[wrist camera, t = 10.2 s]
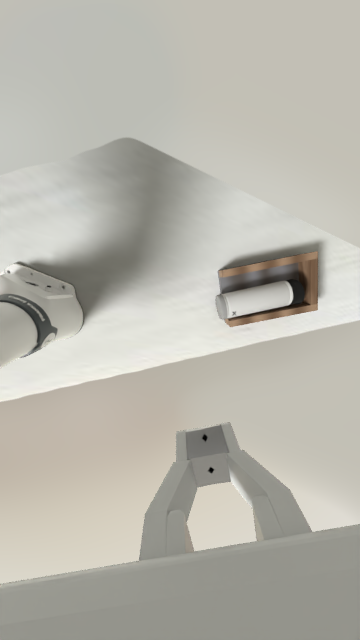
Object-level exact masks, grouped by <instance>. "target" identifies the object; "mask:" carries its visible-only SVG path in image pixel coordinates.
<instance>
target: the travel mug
mask: <svg viewBox="0 0 360 640" xmlns="http://www.w3.org/2000/svg"><path fill="white" fill-rule="evenodd" d="M304 297H305V291H304V288H303V286H302V284H301V283H300V282H299V281H298V280H296V279H289V280H285V281H279V282H275V283H270V284H266V285H261V286H257V287H252V288H248V289H243V290H239V291H234V292H230V293H225V294H221V295H217V296H216V307H217V312H218V315H219V317H220V318H221V319H222V320H223V319H227V318H232V317H237V316H241V315H246V314H251V313H255V312H260V311H264V310H269V309H274V308H278V307H283V306H287V305H290V304H297V305H298V304H301V303H302V301H303V300H304Z"/></svg>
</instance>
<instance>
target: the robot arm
mask: <svg viewBox="0 0 360 640" xmlns="http://www.w3.org/2000/svg"><path fill="white" fill-rule="evenodd" d="M9 271H10V273H9ZM63 286H65V289H64V287H63ZM82 324H83V312H82V308H81V306H80V304H79V302H78V301H77V299H76V294H75V289H74V287H73V285H71V284H69V283H66V282H64V281H61V280H59V279H56V278H53V277H51V276H48V275H46V274H43V273H41V272H38V271H36V270H33V269H31V268H28V267H26V266H23V265H20V264H11V265H9V266H8V267H7V268H5V269H4V270H3V272H2V273H1V274H0V368H2V367H4V366H6V365H7V364H9V363H11V362H13V361H14V360H16V359H18V358H22V357H26V356H28V355H30V354H32V353H34V352H36V351H38V350H40V349H42V348H43V347H45V346H47V345H48V344H50V343H51V342H54V341H58V340H64V339H68V338H71V337H73V336H74V335H76V334H77V333H78V332H79V330H80V329H81V327H82ZM224 482H231V483H232V484H233V485H234V487H235V488H236V489H237V490H238V492H239V493H240V494H241V495H242V496H243V498H244V499H245V500H246V502H247V503H248V504H249V505H250V507H251V508H252V509H253V515H254V523H255V531H256V539H257V541H256V542H250V543H243V544H237V545H231V546H225V547H219V548H214V549H207V550H201V551H195V552H194V548H193V545H192V541H191V537H190V534H189V530H188V527H187V523H186V522H187V519H188V516H189V513H190V510H191V507H192V504H193V501H194V497H195V494H196V491H197V487H201V486H206V485H211V484H217V483H224ZM0 640H360V524H358V525H352V526H346V527H340V528H334V529H328V530H322V531H316V532H312V530H311V528H310V526H309V525H308V523H307V521H306V519H305V517H304V515H303V513H302V511H301V510H300V508H299V506H298V504H297V502H296V500H295V499H294V497H293V495H292V493H291V491H290V489H288V488H287V487H286V486H285V485H284V484H283V483H281V482H280V481H279V480H278V479H277V478H276V477H274V476H273V475H272V474H271V473H270V472H269V471H267V470H266V469H265V468H264V467H263V466H262V465H260V464H259V463H258V462H257V461H256V460H255V459H253V458H252V457H251V456H250V455H249V454H248V453H246V452H245V451H244V450H240V448H239V445H238V442H237V439H236V437H235V434H234V431H233V429H232V426H231V424H230V422H227V423H222V424H216V425H211V426H207V427H202V428H195V429H189V430H183V431H177V433H176V462H174V463H173V464H172V466H171V468H170V470H169V472H168V473H167V475H166V477H165V479H164V481H163V483H162V484H161V486H160V488H159V490H158V492H157V493H156V495H155V497H154V499H153V501H152V502H151V504H150V506H149V508H148V510H147V512H146V513H145V519H144V526H143V535H142V542H141V549H140V557H139V561H136V562H129V563H123V564H117V565H111V566H105V567H100V568H93V569H88V570H81V571H76V572H69V573H63V574H57V575H51V576H45V577H39V578H33V579H27V580H21V581H15V582H9V583H3V584H0Z"/></svg>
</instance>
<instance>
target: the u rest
mask: <svg viewBox="0 0 360 640" xmlns="http://www.w3.org/2000/svg"><path fill="white" fill-rule="evenodd" d="M218 276H219V283H220V291H221V294H225V293H230V292H234V291H239V290H243V289H248V288H252V287H257V286H261V285H266V284H270V283H275V282H279V281H285V280H289V279H296V280H298V281H299V282H300V283H301V284H302V286H303V288H304V291H305V297H304V300H303V301H302V303H301V304H298V305H297V304H290V305H287V306H283V307H278V308H274V309H269V310H264V311H260V312H255V313H251V314H246V315H241V316H237V317H232V318H227V319H224V320H225V322H226V323H227V324H228V325H229V326H230V327H233V326H239V325H244V324H249V323H254V322H259V321H264V320H269V319H274V318H279V317H284V316H290V315H295V314H300V313H305V312H310V311H315V310H318V251H316V252H310V253H304V254H299V255H294V256H289V257H284V258H279V259H274V260H269V261H264V262H260V263H255V264H250V265H245V266H240V267H235V268H230V269H225V270H220V271H218Z"/></svg>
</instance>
